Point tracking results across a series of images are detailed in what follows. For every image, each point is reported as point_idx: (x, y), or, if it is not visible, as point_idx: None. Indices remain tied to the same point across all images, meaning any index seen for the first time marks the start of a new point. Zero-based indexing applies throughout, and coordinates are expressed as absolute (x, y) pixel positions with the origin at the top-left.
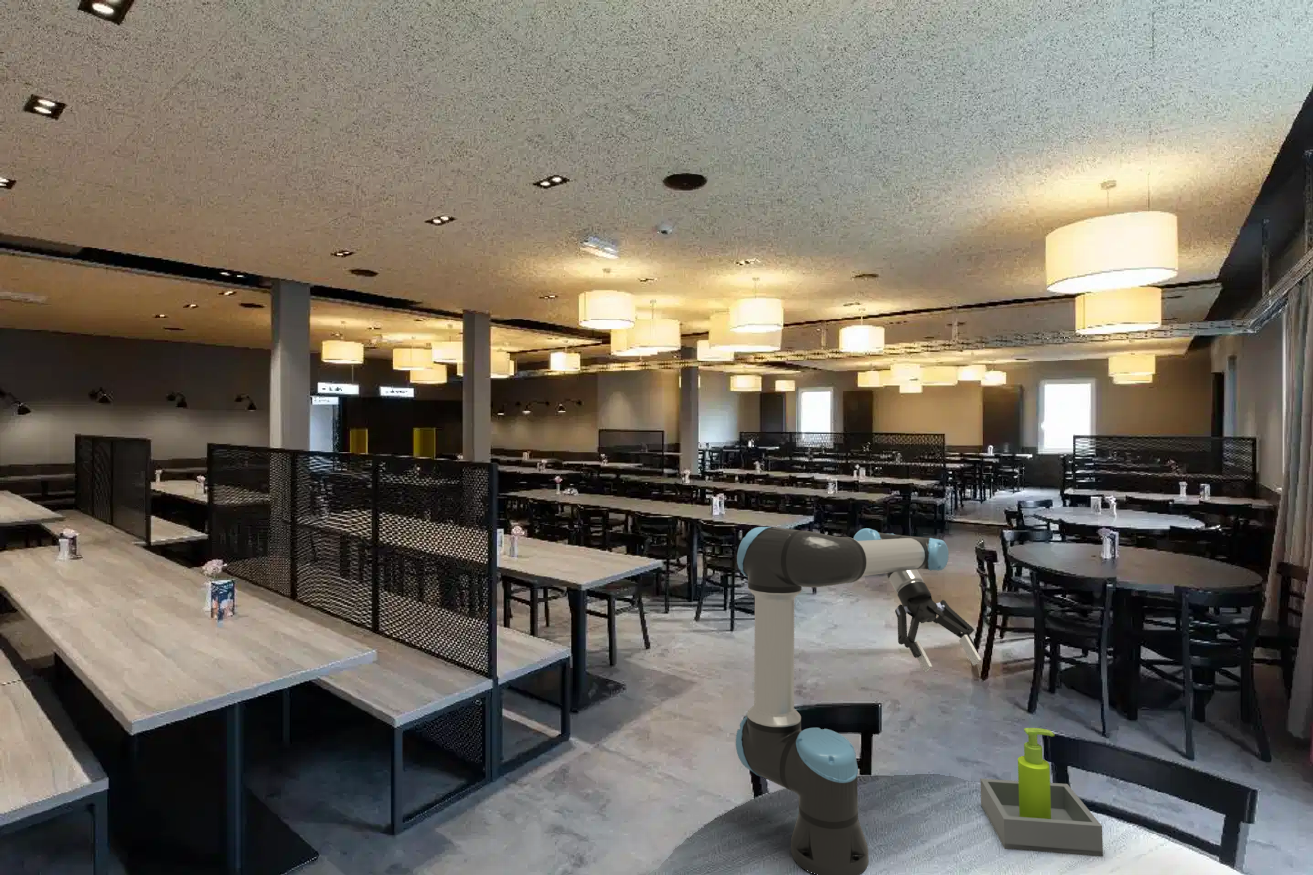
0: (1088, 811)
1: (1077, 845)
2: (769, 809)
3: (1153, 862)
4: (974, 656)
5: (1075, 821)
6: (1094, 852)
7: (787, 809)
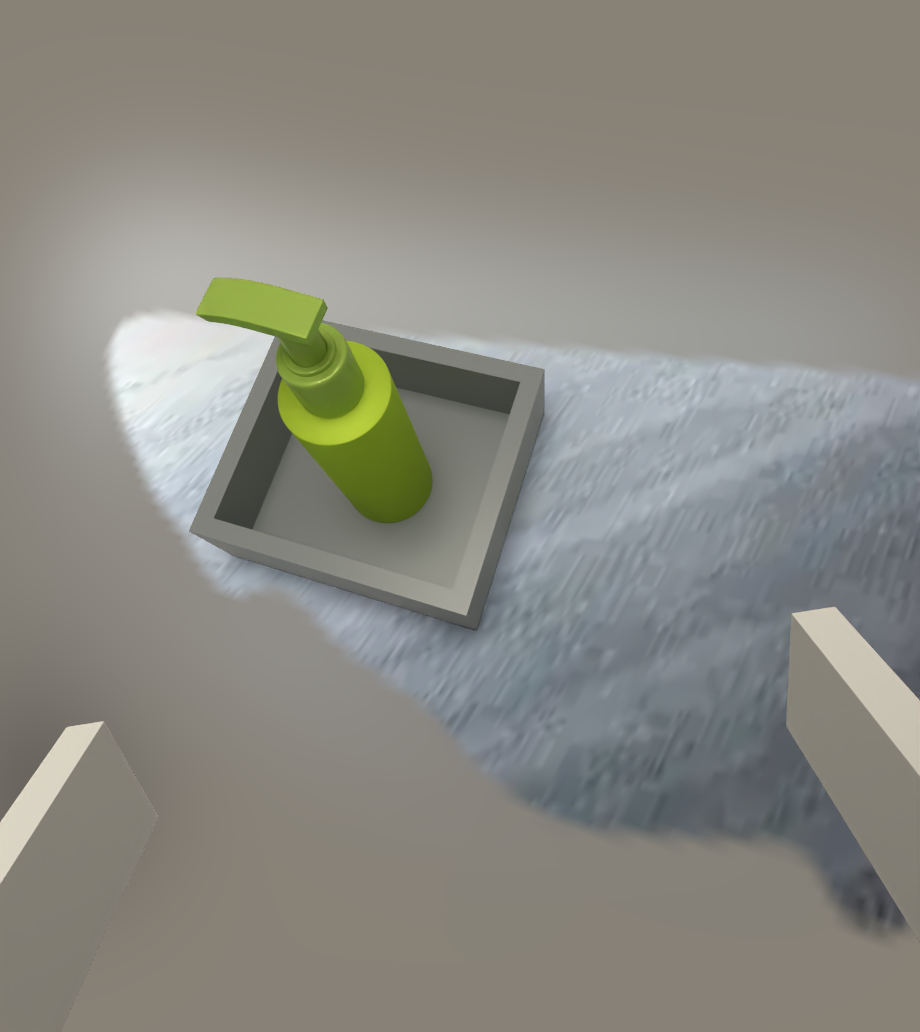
0: (260, 379)
1: None
2: None
3: (219, 329)
4: (88, 800)
5: None
6: None
7: None
